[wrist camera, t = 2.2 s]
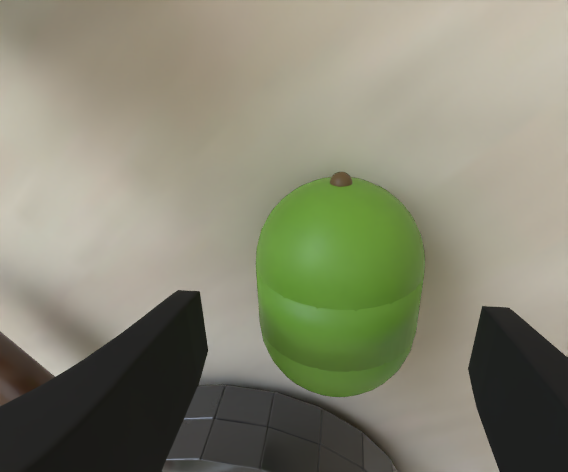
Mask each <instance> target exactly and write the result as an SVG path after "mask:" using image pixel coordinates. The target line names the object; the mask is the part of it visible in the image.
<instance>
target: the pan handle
mask: <svg viewBox="0 0 568 472" xmlns="http://www.w3.org/2000/svg"><path fill="white" fill-rule="evenodd" d="M54 377H55V376H54V375H52V374H51V373H50V372H49V371H47V370H46V369H45V368H44V367H43V366H41V365H40V364H39V363H38V362H37V361H35V360H34V359H33V358H32V357H31V356H29V355H28V354H27V353H26V352H25V351H23V350H22V349H21V348H20V347H18V346H17V345H16V344H15V343H14V342H12V341H11V340H10V339H9V338H8V337H6V336H5V335H4V334H3V333H2V332H0V406H2V405H4V404H6V403H8V402H10V401H12V400H13V399H15V398H17V397H19V396H21V395H23V394H25V393H27V392H29V391H31V390H33V389H35V388H37V387H39V386H41V385H42V384H44V383H46V382H48V381H49V380H51V379H53V378H54Z"/></svg>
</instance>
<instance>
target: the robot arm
mask: <svg viewBox="0 0 568 472" xmlns="http://www.w3.org/2000/svg"><path fill="white" fill-rule="evenodd" d="M207 352H208V346H207V339H206V332H205V325H204V318H203V311H202V304H201V297H200V291H181V290H178V291H176V292H175V293H173V294H172V295H171V296H169V297H168V298H167V299H165V300H164V301H163V302H162V303H160V304H159V305H158V306H156V307H155V308H154V309H153V310H151V311H150V312H149V313H147V314H146V315H145V316H144V317H142V318H141V319H140V320H138V321H137V322H136V323H134V324H133V325H132V326H130V327H129V328H128V329H127V330H125V331H124V332H123V333H121V334H120V335H119V336H117V337H116V338H114V339H113V340H111V341H110V342H108V343H107V344H106V345H104V346H103V347H101V348H100V349H98V350H97V351H96V352H94V353H93V354H91V355H90V356H88V357H87V358H85V359H84V360H82V361H81V362H79V363H78V364H76V365H74V366H73V367H71V368H70V369H68V370H66V371H65V372H63V373H61V374H60V375H58V376H56V377H54V378H53V379H51V380H49V381H48V382H46V383H44V384H42V385H41V386H39V387H37V388H35V389H33V390H31V391H29V392H27V393H25V394H23V395H21V396H19V397H17V398H15V399H13V400H12V401H10V402H8V403H6V404H4V405H2V406H0V472H162V469H163V467H164V464H165V461H166V459H167V457H168V455H169V452H170V450H171V448H172V445H173V443H174V441H175V438H176V436H177V434H178V431H179V429H180V427H181V424H182V422H183V420H184V418H185V415H186V413H187V411H188V408H189V406H190V403H191V401H192V399H193V396H194V394H195V392H196V389H197V387H198V384H199V381H200V378H201V374H202V371H203V367H204V364H205V360H206V356H207ZM468 370H469V375H470V380H471V385H472V390H473V394H474V398H475V402H476V407H477V410H478V413H479V416H480V418H481V421H482V424H483V427H484V430H485V433H486V435H487V438H488V441H489V444H490V446H491V449H492V452H493V455H494V457H495V460H496V463H497V466H498V468H499V471H500V472H568V357H566V356H565V355H564V354H563V353H562V352H560V351H559V350H558V349H557V348H556V347H554V346H553V345H552V344H551V343H550V342H549V341H547V340H546V339H545V338H544V337H543V336H542V335H540V334H539V333H538V332H537V331H536V330H535V329H534V328H532V327H531V326H530V325H529V324H528V323H527V322H525V321H524V320H523V319H522V318H521V317H520V316H518V315H517V314H516V313H515V312H513V311H512V310H511V309H510V308H506V307H487V306H482V310H481V314H480V319H479V323H478V328H477V332H476V336H475V341H474V345H473V350H472V354H471V358H470V363H469V367H468Z"/></svg>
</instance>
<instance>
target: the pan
mask: <svg viewBox="0 0 568 472" xmlns="http://www.w3.org/2000/svg"><path fill="white" fill-rule="evenodd" d="M162 472H398V471H397V469H396V468H395V466H394V464H393V462H392V461H391V459H390V458H389V457H388V456H387V455H386V454H385V453H384V452H383V451H382V450H381V449H380V448H379V447H378V446H377V445H376V444H375V443H374V442H373V441H372V440H371V439H370V438H368V437H367V436H366V435H365V434H364V433H363V432H361V431H360V430H359V429H357V428H355V427H354V426H352V425H350V424H348V423H347V422H345V421H343V420H342V419H340V418H338V417H336V416H335V415H333V414H331V413H330V412H328V411H326V410H325V409H322V408H321V407H318V406H316V405H313V404H310V403H307V402H304V401H301V400H298V399H295V398H292V397H290V396H287V395H284V394H281V393H278V392H272V391H266V390H259V389H252V388H245V387H239V386H232V385H226V386H225V385H224V384H223V385H203V386H198V387H197V389H196V392H195V394H194V396H193V399H192V401H191V403H190V406H189V408H188V411H187V413H186V415H185V418H184V420H183V422H182V424H181V427H180V429H179V431H178V434H177V436H176V438H175V441H174V443H173V445H172V448H171V450H170V452H169V455H168V457H167V459H166V461H165V464H164V467H163V469H162Z"/></svg>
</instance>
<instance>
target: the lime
mask: <svg viewBox="0 0 568 472" xmlns="http://www.w3.org/2000/svg"><path fill="white" fill-rule="evenodd" d="M424 272H425V254H424V247H423V242H422V238H421V234H420V232H419V230H418V228H417V225H416V223H415V221H414V219H413V217H412V216H411V214H410V213H409V212H408V210H407V209H406V208H405V207H404V205H403V204H402V203H401V202H400V201H399V200H398V199H397V198H396V197H394V196H393V195H392V194H390V193H389V192H388V191H386V190H385V189H383V188H382V187H380V186H377V185H375V184H372V183H370V182H368V181H365V180H362V179H358V178H352V177H350V176H349V175H348V174H347V173H344V172H338V173H336V174H334V175H333V176H332V177H327V178H322V179H318V180H315V181H312V182H310V183H307V184H305V185H302V186H300V187H298V188H297V189H295V190H294V191H292V192H291V193H290V194H288V195H287V196H286V197H284V198H283V199H282V200H281V201H280V202H279V203H278V205H277V206H276V207H275V208H274V209H273V210H272V212H271V213H270V215H269V216H268V218H267V220H266V222H265V224H264V226H263V228H262V230H261V234H260V237H259V241H258V245H257V251H256V273H257V288H258V303H259V318H260V326H261V330H262V336H263V341H264V343H265V345H266V347H267V350H268V352H269V354H270V356H271V358H272V360H273V361H274V363H275V364H276V365H277V366H278V367H279V369H280V370H281V371H282V372H283V373H284V374H285V375H286V376H287V377H288V378H289V379H290V380H292V381H293V382H294V383H296V384H297V385H299V386H301V387H303V388H305V389H307V390H309V391H311V392H314V393H317V394H321V395H325V396H331V397H348V396H354V395H359V394H362V393H365V392H368V391H371V390H373V389H375V388H377V387H379V386H380V385H382V384H383V383H385V382H386V381H387V380H388V379H389V378H391V377H392V376H393V375H394V374H395V373H396V372H397V371H398V370H399V369H400V367H401V365H402V364H403V362H404V361H405V359H406V358H407V356H408V354H409V353H410V350H411V347H412V343H413V340H414V337H415V334H416V328H417V321H418V314H419V307H420V300H421V293H422V286H423V279H424Z"/></svg>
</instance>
